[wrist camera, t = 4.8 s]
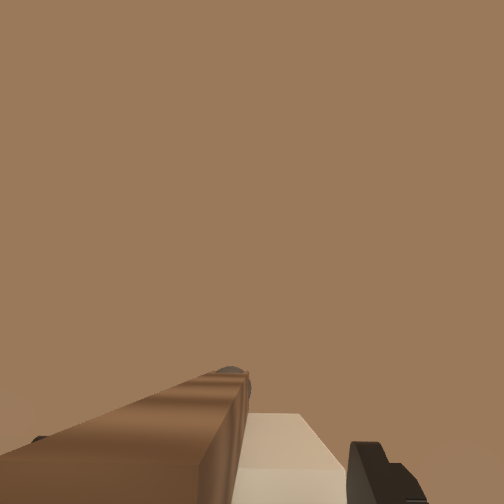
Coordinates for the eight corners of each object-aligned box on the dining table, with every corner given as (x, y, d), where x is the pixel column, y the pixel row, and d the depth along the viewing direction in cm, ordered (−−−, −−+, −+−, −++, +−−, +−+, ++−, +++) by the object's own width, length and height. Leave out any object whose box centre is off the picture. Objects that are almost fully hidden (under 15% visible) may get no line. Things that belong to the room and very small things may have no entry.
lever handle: (202, 749, 4) (214, 433, 5) (-80, 739, 4) (-21, 429, 5) (250, 410, 29) (251, 366, 30) (208, 409, 29) (210, 365, 30)
